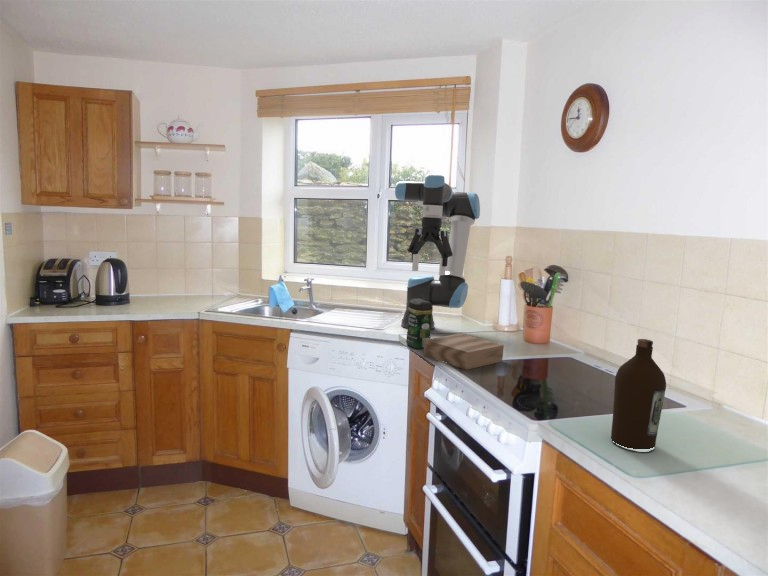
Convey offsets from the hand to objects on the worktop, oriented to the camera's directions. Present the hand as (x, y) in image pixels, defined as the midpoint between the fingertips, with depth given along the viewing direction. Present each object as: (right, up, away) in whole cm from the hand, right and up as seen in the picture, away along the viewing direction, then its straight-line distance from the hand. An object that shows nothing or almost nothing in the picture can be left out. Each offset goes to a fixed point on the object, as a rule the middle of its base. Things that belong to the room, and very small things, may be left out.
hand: (428, 273), depth 202 cm
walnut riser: (+12, -31, -10) cm, 35 cm away
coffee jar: (-4, -29, +4) cm, 29 cm away
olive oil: (+41, -43, -78) cm, 98 cm away
